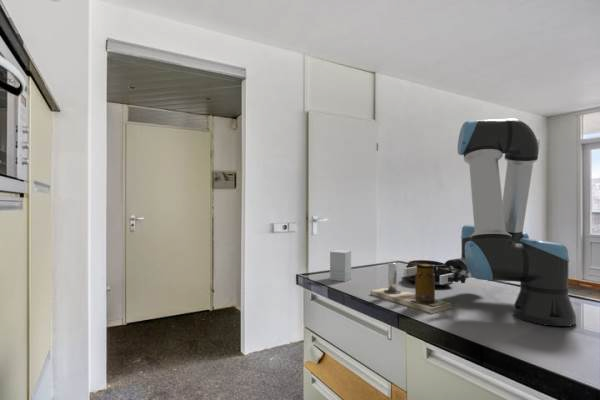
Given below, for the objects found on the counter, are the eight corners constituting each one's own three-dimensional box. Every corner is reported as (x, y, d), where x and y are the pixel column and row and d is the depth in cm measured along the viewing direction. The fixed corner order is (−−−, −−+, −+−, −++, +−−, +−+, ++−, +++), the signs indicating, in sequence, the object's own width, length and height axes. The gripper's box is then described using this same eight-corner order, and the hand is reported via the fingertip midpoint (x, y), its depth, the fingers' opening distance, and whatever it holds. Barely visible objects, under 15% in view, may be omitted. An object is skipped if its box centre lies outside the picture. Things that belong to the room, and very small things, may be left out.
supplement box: (351, 278, 153) (351, 250, 153) (344, 282, 147) (344, 252, 147) (336, 276, 157) (337, 249, 157) (329, 279, 151) (329, 251, 151)
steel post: (398, 296, 125) (398, 263, 125) (392, 297, 123) (392, 264, 123) (391, 294, 127) (392, 262, 127) (386, 295, 125) (386, 263, 125)
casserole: (393, 276, 158) (393, 258, 158) (430, 275, 161) (430, 257, 162) (421, 290, 134) (421, 269, 134) (464, 288, 137) (464, 267, 137)
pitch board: (450, 307, 111) (450, 302, 111) (432, 313, 106) (432, 308, 106) (388, 290, 133) (388, 286, 133) (370, 294, 127) (370, 289, 127)
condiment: (421, 296, 118) (421, 262, 118) (445, 302, 112) (445, 265, 112) (409, 300, 114) (409, 264, 114) (433, 306, 107) (433, 268, 107)
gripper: (493, 286, 114) (457, 296, 102) (427, 273, 135) (391, 280, 123) (493, 264, 114) (457, 271, 102) (427, 254, 135) (392, 259, 123)
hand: (421, 276), depth 112 cm, fingers open, 13 cm apart
